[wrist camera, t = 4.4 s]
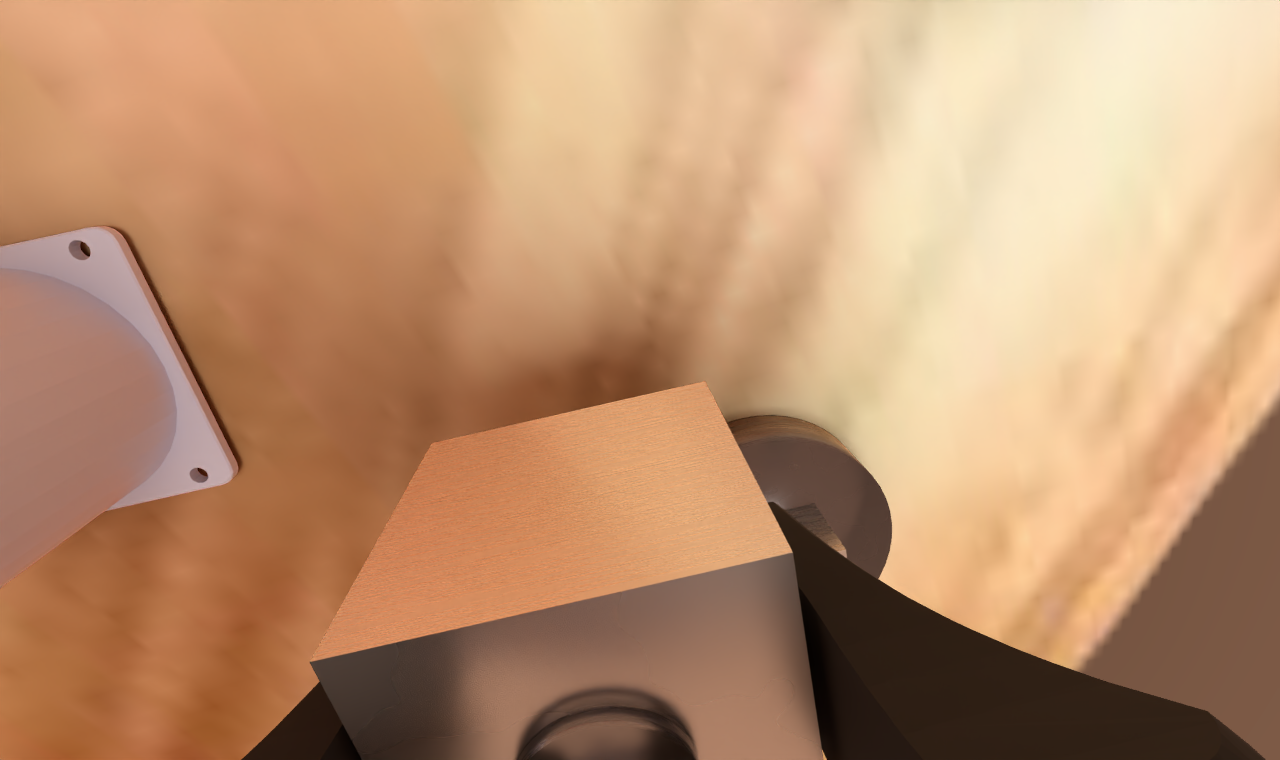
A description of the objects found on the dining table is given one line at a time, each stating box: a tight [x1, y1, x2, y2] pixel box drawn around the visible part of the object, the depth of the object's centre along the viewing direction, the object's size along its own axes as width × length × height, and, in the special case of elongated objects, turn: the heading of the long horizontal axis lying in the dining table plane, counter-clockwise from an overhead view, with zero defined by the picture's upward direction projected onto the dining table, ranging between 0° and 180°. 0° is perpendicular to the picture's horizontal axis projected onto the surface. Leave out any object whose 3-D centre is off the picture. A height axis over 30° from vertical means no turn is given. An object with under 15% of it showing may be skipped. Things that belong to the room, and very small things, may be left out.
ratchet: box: [727, 416, 892, 579], centre depth 20 cm, size 21×11×4 cm, turn 101°
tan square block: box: [310, 381, 823, 760], centre depth 10 cm, size 6×6×6 cm
